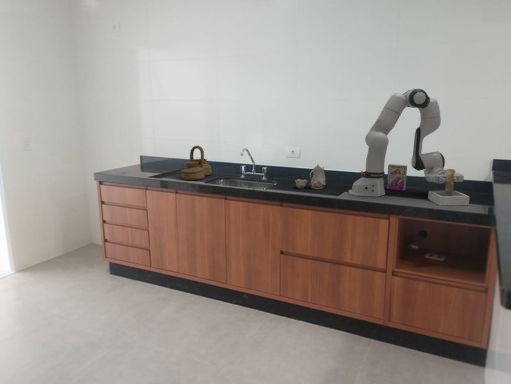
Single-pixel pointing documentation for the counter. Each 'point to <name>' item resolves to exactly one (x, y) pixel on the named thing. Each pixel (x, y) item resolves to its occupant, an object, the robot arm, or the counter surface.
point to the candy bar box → (396, 177)
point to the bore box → (448, 198)
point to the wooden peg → (449, 181)
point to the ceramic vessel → (196, 167)
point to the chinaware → (314, 179)
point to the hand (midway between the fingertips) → (450, 180)
